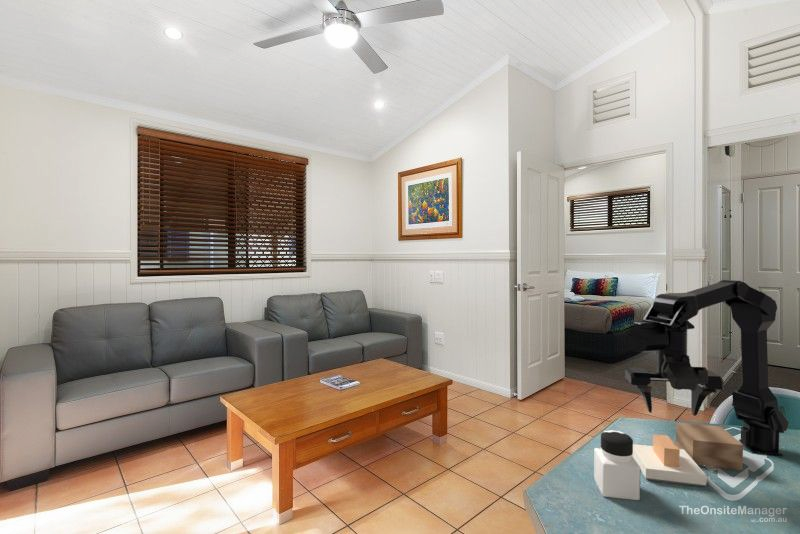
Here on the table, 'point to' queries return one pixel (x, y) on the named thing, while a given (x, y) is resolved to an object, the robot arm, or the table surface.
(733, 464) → the walnut box
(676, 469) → the lid
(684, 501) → the table surface
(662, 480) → the rubber mat
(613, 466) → the medicine bottle
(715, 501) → the table surface
